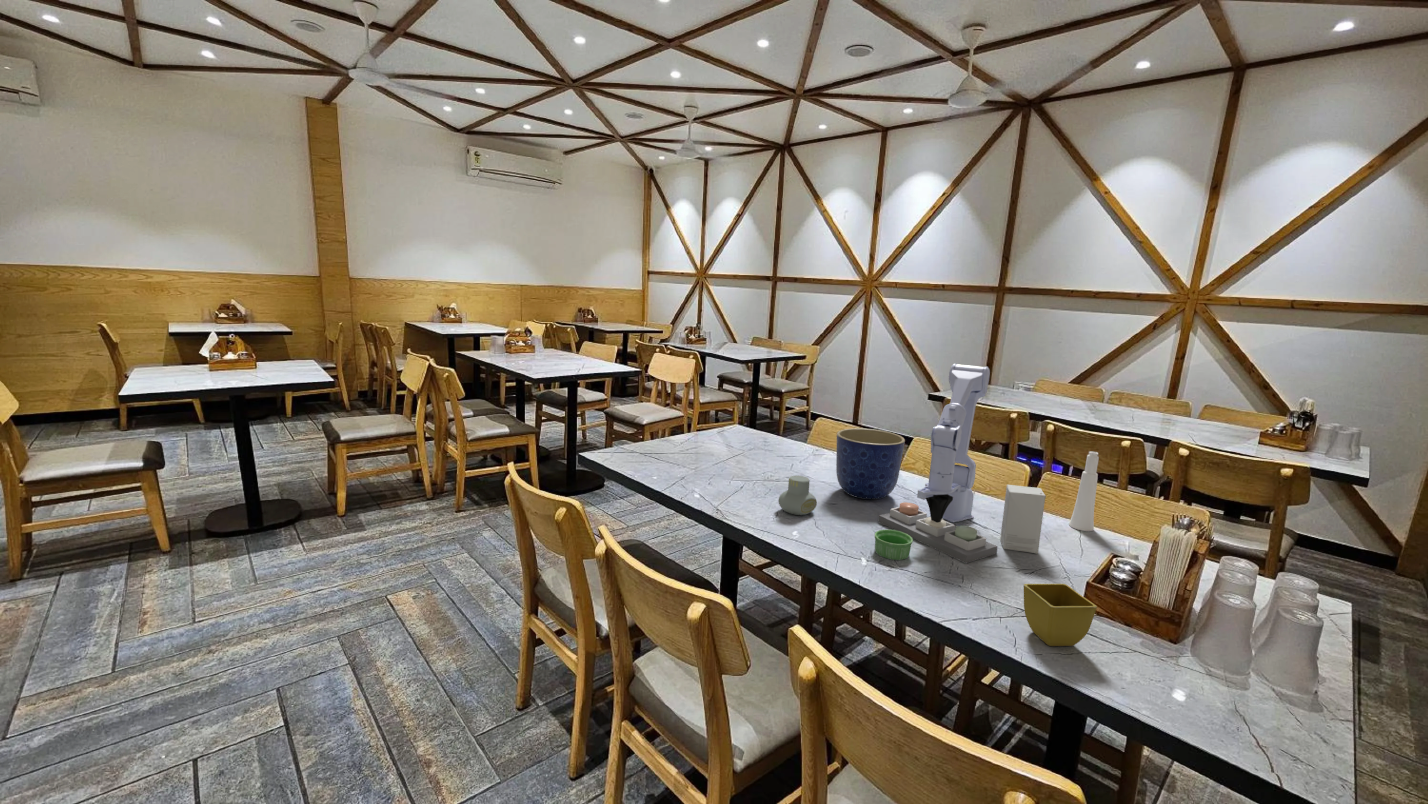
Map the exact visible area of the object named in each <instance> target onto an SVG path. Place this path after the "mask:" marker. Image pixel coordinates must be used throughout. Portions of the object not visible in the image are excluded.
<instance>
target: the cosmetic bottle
mask: <svg viewBox="0 0 1428 804" xmlns="http://www.w3.org/2000/svg"><path fill="white" fill-rule="evenodd" d="M1099 459H1100V457H1099V452H1097V451H1088V454H1087V455H1086V461H1085V467H1084V470H1083V471H1082V473H1081V477H1080V482H1079V486H1078V491H1077V496H1076V501H1075V504H1074V507H1073V512H1072V515H1071V518H1070V520H1069V523H1068V525H1069V527H1070V528H1072V529H1075V530H1078V531H1082V532H1092V531H1094V530H1095V524H1094V523H1095V522H1094V520H1095V519H1094V518H1095V516H1094V515H1095V506H1096V505H1095V503H1096V495H1097V487H1098V476H1099V474H1098V472H1097V471H1098V466H1099Z"/></svg>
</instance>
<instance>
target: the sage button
mask: <svg viewBox="0 0 1428 804" xmlns="http://www.w3.org/2000/svg"><path fill="white" fill-rule="evenodd" d="M977 534H978V530H977V529H976V528H974V527H972V526H968V525H961V524H960V525H955V536H956V537H958V538H961V539H963V540H965V541H967V542H970V541H973V540H976V537H977Z"/></svg>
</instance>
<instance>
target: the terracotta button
mask: <svg viewBox="0 0 1428 804" xmlns="http://www.w3.org/2000/svg"><path fill="white" fill-rule="evenodd" d="M898 507H899V512H901V513H903V514H905V515H908V516H914V515H918V510H920V509H919V508H920V507H919V505H918V504H915V503H912V502H905V501H904V502H900V503H899V505H898Z"/></svg>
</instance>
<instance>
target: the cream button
mask: <svg viewBox="0 0 1428 804" xmlns="http://www.w3.org/2000/svg"><path fill="white" fill-rule="evenodd" d="M927 517H928V518H926V522H925V523H926V524H928V525H931V526H933V527H935V528H941V527H945V526H946V522H947V520H945V519H943V518H942V520H941V522H938V523H937V522H935V521H932V520H931V516H927Z"/></svg>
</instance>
